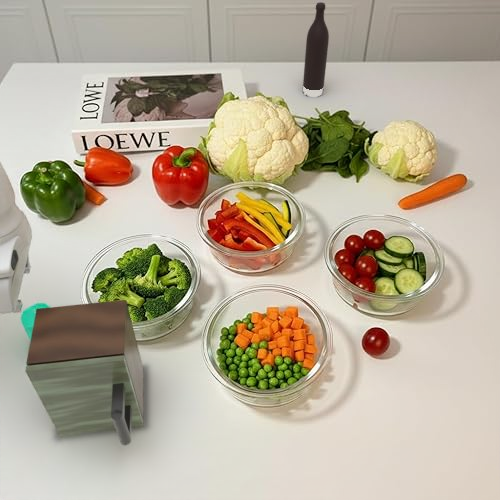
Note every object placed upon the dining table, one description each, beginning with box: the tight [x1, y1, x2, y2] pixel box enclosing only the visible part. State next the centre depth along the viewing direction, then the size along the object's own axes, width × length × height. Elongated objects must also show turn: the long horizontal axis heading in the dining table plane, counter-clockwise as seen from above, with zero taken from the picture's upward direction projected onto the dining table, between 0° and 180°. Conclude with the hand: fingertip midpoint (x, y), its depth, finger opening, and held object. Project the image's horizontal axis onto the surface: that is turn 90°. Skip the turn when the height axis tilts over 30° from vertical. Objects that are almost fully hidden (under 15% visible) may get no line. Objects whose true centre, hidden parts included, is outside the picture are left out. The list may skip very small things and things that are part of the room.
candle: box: [20, 302, 51, 342], centre depth 109 cm, size 6×6×12 cm
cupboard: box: [26, 299, 145, 420], centre depth 96 cm, size 11×15×22 cm
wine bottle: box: [302, 2, 330, 90], centre depth 176 cm, size 7×7×30 cm
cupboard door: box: [24, 355, 144, 446], centre depth 90 cm, size 7×15×22 cm, turn 98°
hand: (21, 289), depth 100 cm, fingers open, 8 cm apart
